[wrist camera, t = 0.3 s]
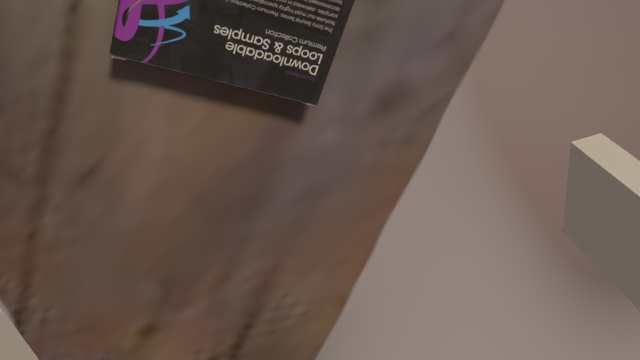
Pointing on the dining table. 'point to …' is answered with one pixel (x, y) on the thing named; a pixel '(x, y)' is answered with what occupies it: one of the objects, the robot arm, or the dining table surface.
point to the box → (236, 41)
